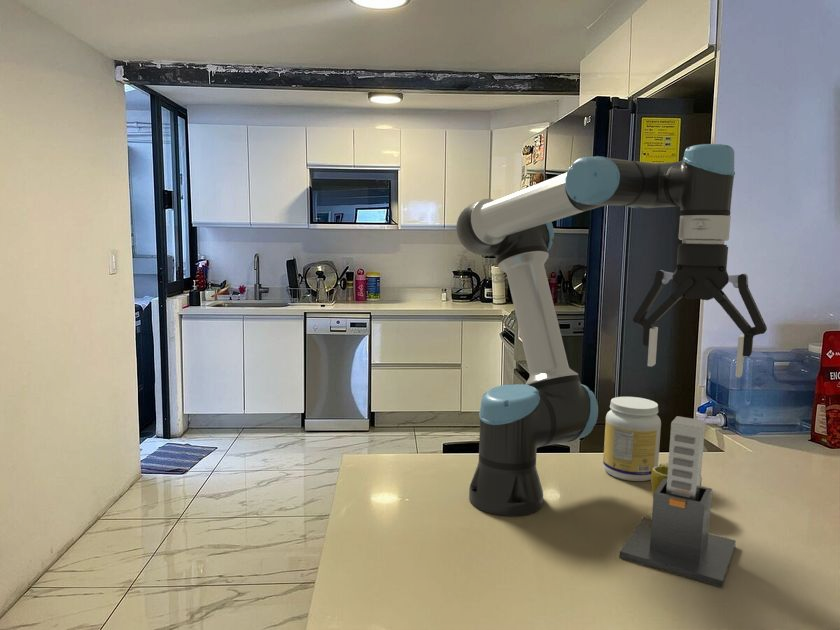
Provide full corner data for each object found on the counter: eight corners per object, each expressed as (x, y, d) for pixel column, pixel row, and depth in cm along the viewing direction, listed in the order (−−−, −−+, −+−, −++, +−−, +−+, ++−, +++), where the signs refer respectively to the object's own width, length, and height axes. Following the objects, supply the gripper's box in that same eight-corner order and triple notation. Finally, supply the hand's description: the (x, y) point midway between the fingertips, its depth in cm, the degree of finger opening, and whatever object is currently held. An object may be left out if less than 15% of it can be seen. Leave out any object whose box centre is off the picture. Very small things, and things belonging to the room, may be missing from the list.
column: (661, 547, 108) (670, 423, 105) (668, 535, 112) (676, 416, 109) (690, 554, 105) (700, 428, 103) (695, 542, 110) (705, 420, 107)
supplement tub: (612, 459, 154) (616, 392, 152) (663, 471, 147) (668, 401, 145) (594, 474, 145) (598, 403, 142) (648, 487, 138) (653, 412, 135)
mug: (716, 515, 120) (700, 463, 121) (661, 525, 122) (646, 474, 124) (704, 501, 132) (690, 454, 133) (654, 511, 134) (641, 464, 135)
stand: (619, 557, 107) (623, 495, 106) (642, 522, 120) (646, 466, 119) (722, 588, 98) (728, 520, 97) (735, 546, 112) (740, 486, 110)
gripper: (619, 241, 106) (612, 364, 109) (790, 244, 92) (777, 385, 95) (631, 241, 112) (624, 357, 115) (792, 244, 99) (780, 376, 101)
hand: (693, 370), depth 105 cm, fingers open, 13 cm apart
